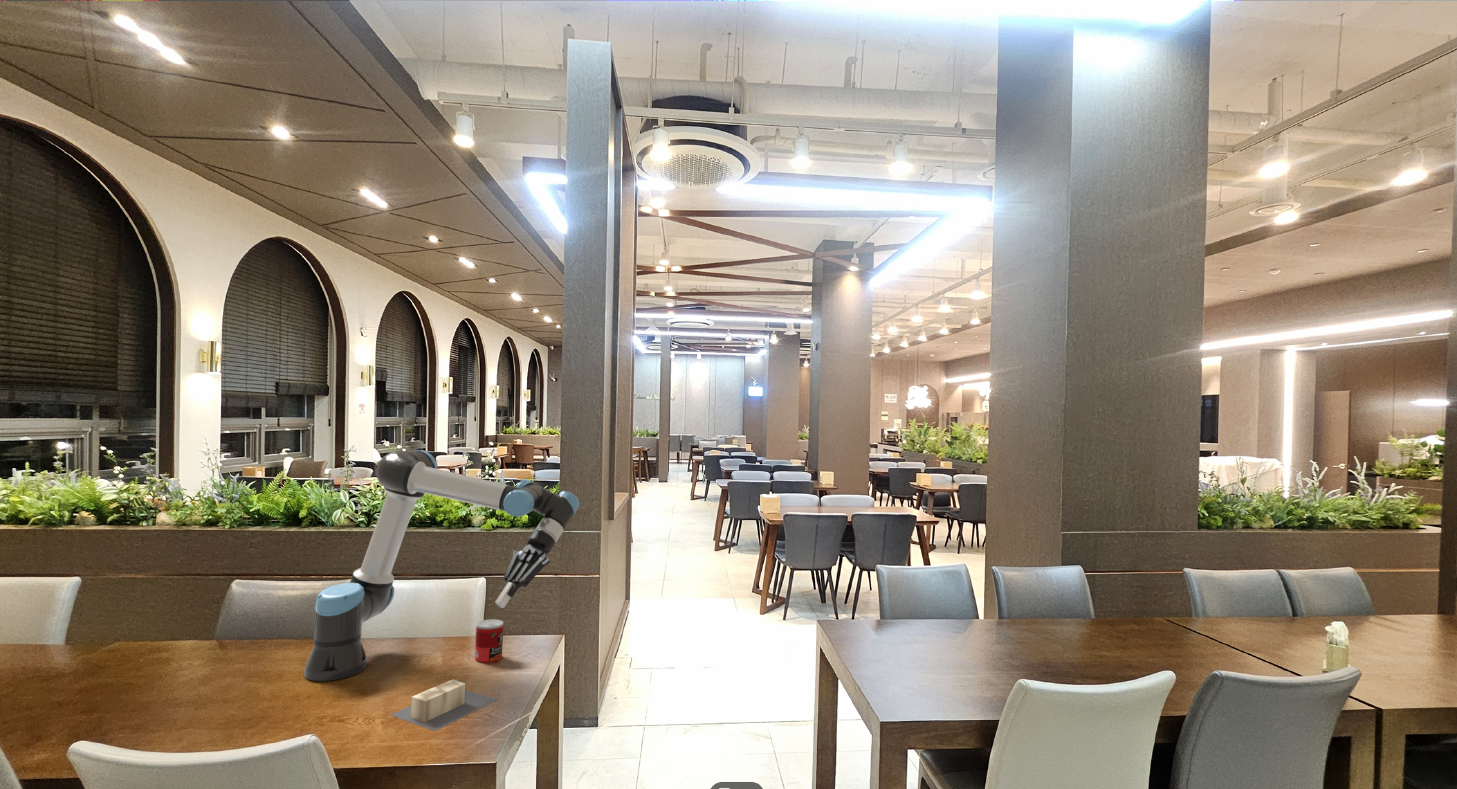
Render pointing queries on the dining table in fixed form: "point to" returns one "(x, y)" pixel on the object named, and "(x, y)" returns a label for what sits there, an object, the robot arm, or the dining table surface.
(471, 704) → the mat
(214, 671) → the dining table surface
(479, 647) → the canned food
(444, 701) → the beech block
